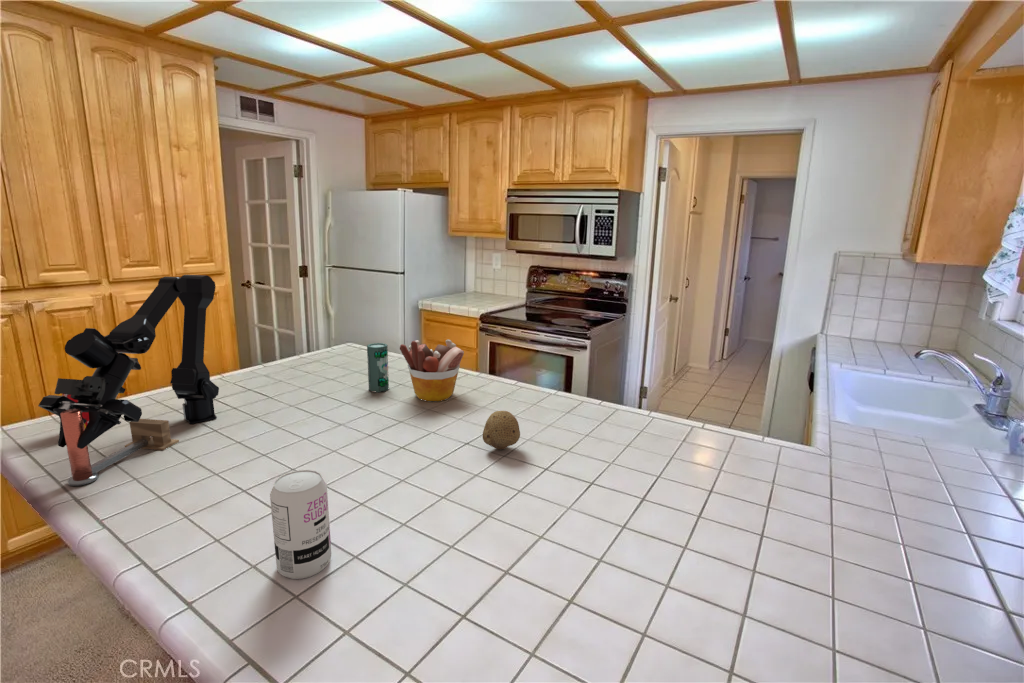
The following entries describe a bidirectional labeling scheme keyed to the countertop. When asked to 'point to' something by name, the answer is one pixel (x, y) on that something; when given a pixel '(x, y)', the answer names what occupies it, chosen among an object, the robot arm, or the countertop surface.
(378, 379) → the can
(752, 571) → the countertop surface
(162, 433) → the eye bracket
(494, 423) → the potato
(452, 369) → the bucket of meat
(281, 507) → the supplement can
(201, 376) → the robot arm
